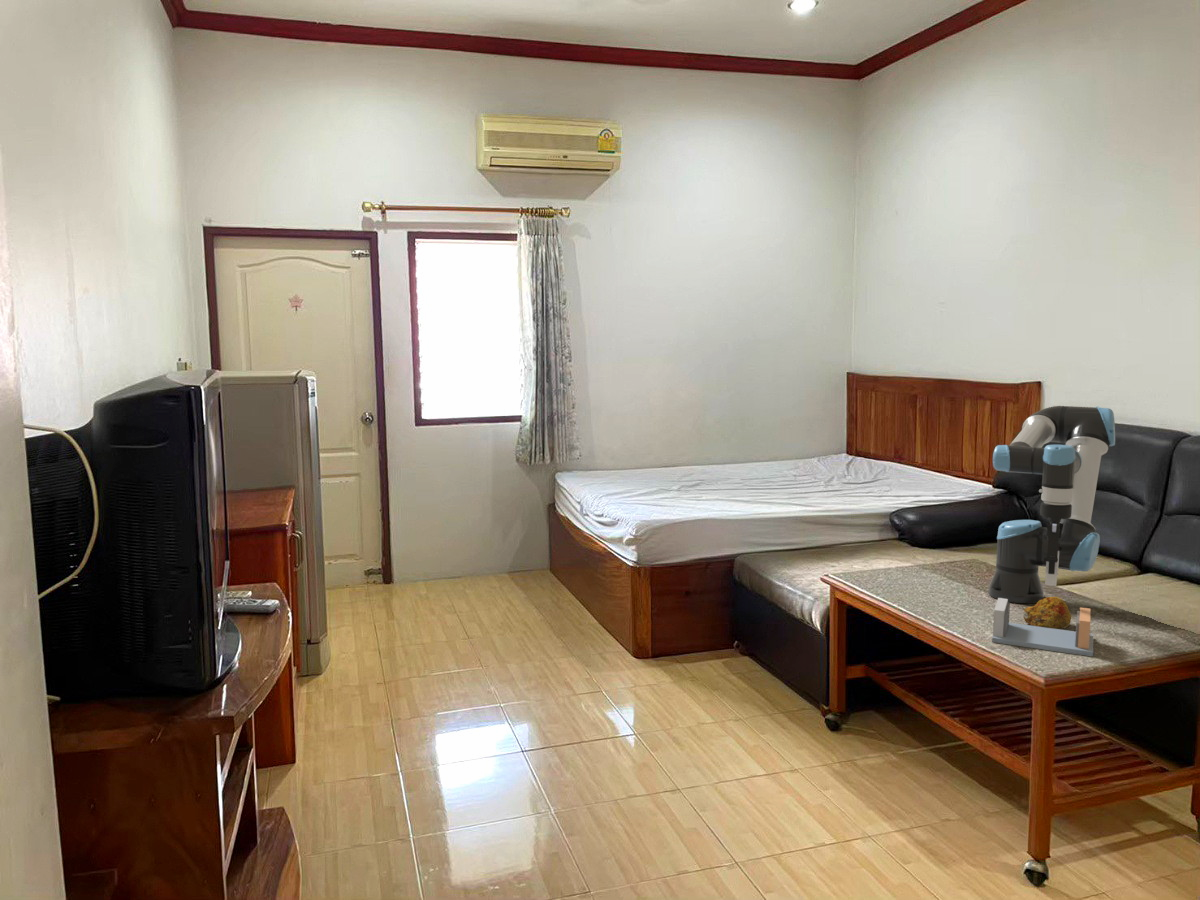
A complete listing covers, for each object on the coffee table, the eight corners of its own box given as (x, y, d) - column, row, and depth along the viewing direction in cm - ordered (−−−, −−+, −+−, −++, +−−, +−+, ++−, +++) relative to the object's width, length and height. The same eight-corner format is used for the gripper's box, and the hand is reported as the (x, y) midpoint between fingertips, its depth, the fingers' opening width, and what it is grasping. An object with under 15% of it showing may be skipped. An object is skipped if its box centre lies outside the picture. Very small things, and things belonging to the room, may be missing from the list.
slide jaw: (1075, 632, 235) (1077, 607, 234) (1088, 634, 234) (1090, 608, 233) (1075, 647, 225) (1076, 620, 224) (1088, 649, 223) (1090, 621, 223)
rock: (1060, 646, 241) (1038, 622, 239) (1036, 641, 249) (1014, 618, 247) (1081, 614, 244) (1060, 590, 242) (1056, 610, 252) (1035, 587, 250)
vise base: (997, 625, 246) (998, 596, 245) (1092, 638, 235) (1094, 608, 234) (992, 642, 233) (993, 611, 232) (1092, 656, 222) (1095, 624, 221)
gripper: (1042, 494, 254) (1038, 567, 256) (1038, 508, 232) (1033, 588, 234) (1072, 496, 250) (1068, 570, 253) (1071, 511, 228) (1066, 592, 231)
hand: (1051, 579), depth 244 cm, fingers open, 13 cm apart
